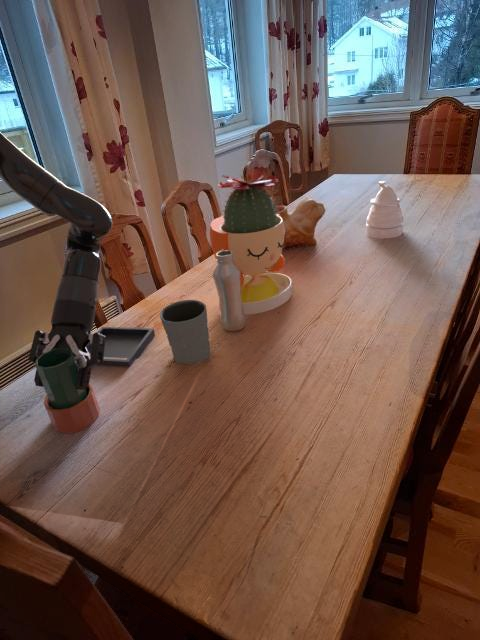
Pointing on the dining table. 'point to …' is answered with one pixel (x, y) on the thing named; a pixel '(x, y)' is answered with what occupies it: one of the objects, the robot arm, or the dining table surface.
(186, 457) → the dining table surface
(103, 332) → the tray
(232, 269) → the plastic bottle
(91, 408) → the short cup
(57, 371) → the tall cup
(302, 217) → the tan lumpy piece
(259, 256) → the potted cactus
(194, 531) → the dining table surface
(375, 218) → the honey pot
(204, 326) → the grey cup
